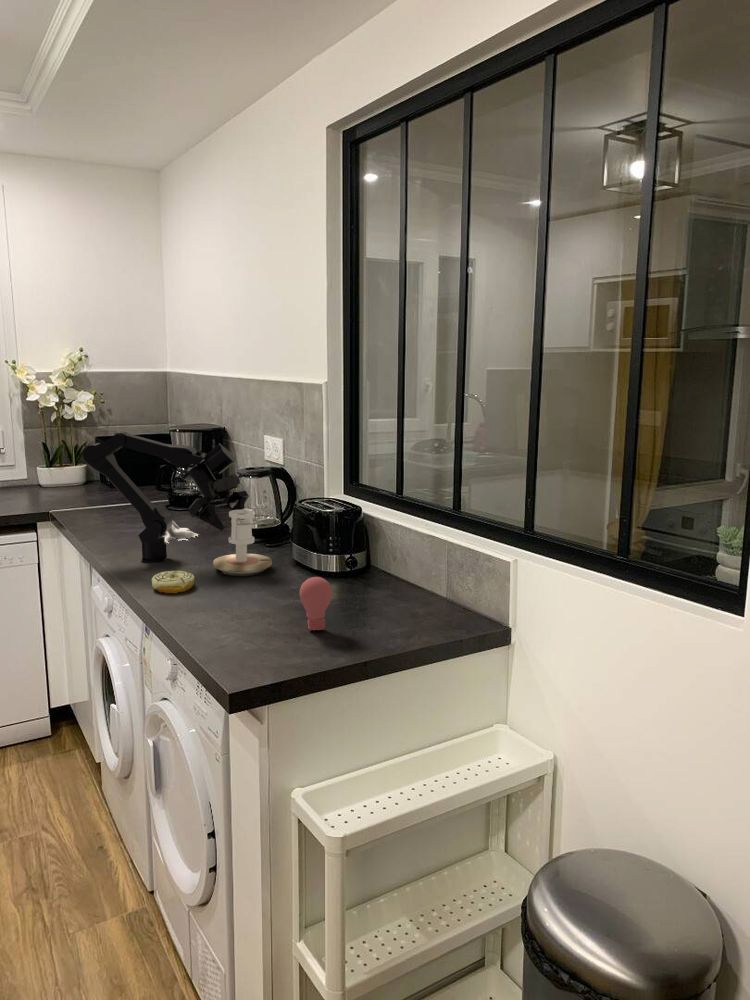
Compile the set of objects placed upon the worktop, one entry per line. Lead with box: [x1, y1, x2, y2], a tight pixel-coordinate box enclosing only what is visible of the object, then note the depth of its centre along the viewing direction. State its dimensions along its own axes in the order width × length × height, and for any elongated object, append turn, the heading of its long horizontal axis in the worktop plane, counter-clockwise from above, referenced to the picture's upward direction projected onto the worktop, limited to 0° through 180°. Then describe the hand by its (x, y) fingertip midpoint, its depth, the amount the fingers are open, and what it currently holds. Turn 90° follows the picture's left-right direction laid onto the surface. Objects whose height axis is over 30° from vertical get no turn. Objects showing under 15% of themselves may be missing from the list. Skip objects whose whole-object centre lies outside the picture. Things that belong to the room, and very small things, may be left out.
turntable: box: [212, 553, 273, 572], centre depth 209 cm, size 16×16×1 cm
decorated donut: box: [151, 570, 195, 594], centre depth 191 cm, size 10×11×4 cm
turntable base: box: [220, 569, 265, 577], centre depth 209 cm, size 12×12×2 cm
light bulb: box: [299, 576, 333, 631], centre depth 163 cm, size 7×7×12 cm
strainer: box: [228, 507, 256, 562], centre depth 207 cm, size 7×7×15 cm
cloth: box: [163, 520, 199, 544], centre depth 246 cm, size 22×19×6 cm
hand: (234, 527), depth 208 cm, fingers open, 9 cm apart
